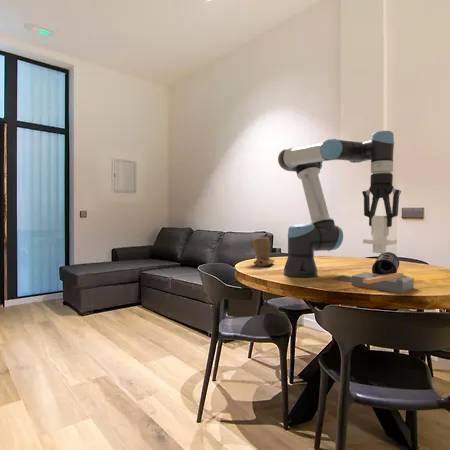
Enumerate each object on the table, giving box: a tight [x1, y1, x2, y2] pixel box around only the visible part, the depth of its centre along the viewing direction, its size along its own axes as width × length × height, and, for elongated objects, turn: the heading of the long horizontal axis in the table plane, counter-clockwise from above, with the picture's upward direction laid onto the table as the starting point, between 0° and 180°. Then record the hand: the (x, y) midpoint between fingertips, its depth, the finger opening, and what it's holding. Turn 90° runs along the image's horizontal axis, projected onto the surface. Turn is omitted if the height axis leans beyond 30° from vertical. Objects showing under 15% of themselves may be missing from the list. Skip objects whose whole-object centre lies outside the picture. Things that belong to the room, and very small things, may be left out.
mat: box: [330, 274, 352, 283], centre depth 135 cm, size 11×11×1 cm
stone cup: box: [252, 237, 275, 267], centre depth 175 cm, size 15×12×15 cm
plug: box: [362, 215, 398, 254], centre depth 121 cm, size 9×9×14 cm
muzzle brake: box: [371, 251, 400, 275], centre depth 140 cm, size 10×28×10 cm, turn 150°
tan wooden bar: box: [363, 272, 404, 284], centre depth 109 cm, size 21×2×1 cm, turn 123°
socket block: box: [351, 271, 415, 295], centre depth 121 cm, size 18×12×6 cm, turn 44°
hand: (379, 235), depth 121 cm, fingers closed on plug, 4 cm apart
